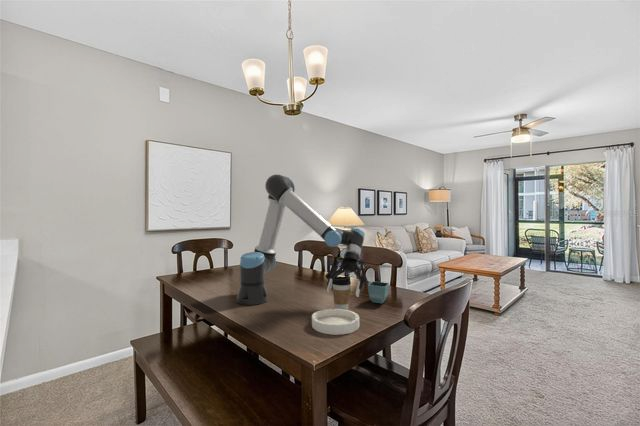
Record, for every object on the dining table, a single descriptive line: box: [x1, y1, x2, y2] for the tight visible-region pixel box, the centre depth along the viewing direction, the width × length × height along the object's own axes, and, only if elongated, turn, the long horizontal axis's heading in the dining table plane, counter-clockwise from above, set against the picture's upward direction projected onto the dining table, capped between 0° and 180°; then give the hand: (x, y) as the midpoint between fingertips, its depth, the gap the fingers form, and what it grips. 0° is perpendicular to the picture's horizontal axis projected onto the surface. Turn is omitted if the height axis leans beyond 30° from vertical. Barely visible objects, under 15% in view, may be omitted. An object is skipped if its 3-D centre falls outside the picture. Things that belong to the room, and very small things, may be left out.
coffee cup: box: [332, 276, 352, 310], centre depth 139 cm, size 8×8×15 cm
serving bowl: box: [311, 308, 361, 336], centre depth 122 cm, size 18×18×4 cm
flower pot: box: [367, 281, 390, 305], centre depth 152 cm, size 9×9×9 cm
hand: (342, 293), depth 138 cm, fingers open, 13 cm apart
